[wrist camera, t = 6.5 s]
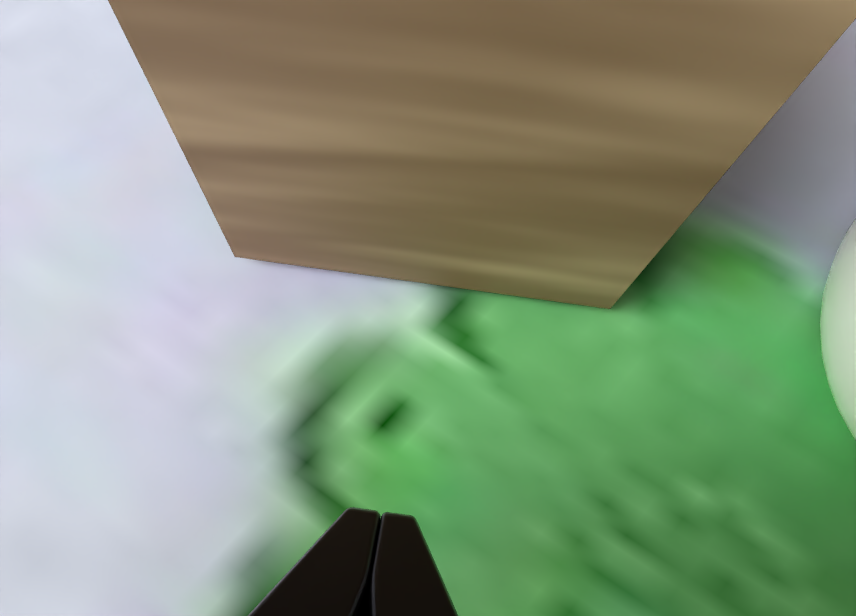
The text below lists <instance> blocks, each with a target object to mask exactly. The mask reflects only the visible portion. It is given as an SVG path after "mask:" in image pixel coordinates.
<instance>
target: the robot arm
mask: <svg viewBox="0 0 856 616" xmlns="http://www.w3.org/2000/svg"><path fill="white" fill-rule="evenodd" d="M248 616H458V614H457V612H456V609H455V607H454V605H453V602H452V600H451V598H450V596H449V593H448V591H447V589H446V586H445V584H444V582H443V580H442V577H441V575H440V573H439V570H438V568H437V566H436V564H435V561H434V559H433V557H432V554H431V552H430V550H429V548H428V545H427V543H426V541H425V538H424V536H423V534H422V531H421V529H420V527H419V525H418V522H417V520H416V519H415V518H414V517H413V516H411V515H405V514H398V513H390V512H385V513H383V514H382V516H381V519H380V513H379V512H378V511H375V510H369V509H361V508H354V507H351V508H348V509H346V510H345V511H344V512H343V513H342V514H341V515H340V517H339V518H338V519H337V520H336V521H335V522H334V523H333V524H332V525H331V526H330V527H329V528H328V530H327V531H326V532H325V533H324V534H323V535H322V536H321V537H320V538H319V539H318V540H317V541H316V543H315V544H314V545H313V546H312V547H311V548H310V549H309V550H308V551H307V552H306V553H305V554H304V556H303V557H302V558H301V559H300V560H299V561H298V562H297V563H296V564H295V565H294V566H293V567H292V568H291V570H290V571H289V572H288V573H287V574H286V575H285V576H284V577H283V578H282V579H281V580H280V581H279V583H278V584H277V585H276V586H275V587H274V588H273V589H272V590H271V591H270V592H269V593H268V594H267V596H266V597H265V598H264V599H263V600H262V601H261V602H260V603H259V604H258V605H257V606H256V607H255V609H254V610H253V611H252V612H251V613H250V614H249V615H248Z"/></svg>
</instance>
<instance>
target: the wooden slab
mask: <svg viewBox="0 0 856 616" xmlns="http://www.w3.org/2000/svg"><path fill="white" fill-rule="evenodd" d="M108 1H109V3H110V5H111V7H112V9H113V11H114V13H115V15H116V17H117V19H118V21H119V23H120V25H121V27H122V30H123V32H124V34H125V36H126V38H127V40H128V42H129V44H130V46H131V48H132V50H133V52H134V54H135V56H136V58H137V60H138V62H139V64H140V66H141V68H142V70H143V72H144V74H145V76H146V78H147V80H148V82H149V84H150V86H151V88H152V90H153V92H154V94H155V96H156V98H157V100H158V102H159V104H160V106H161V108H162V110H163V112H164V114H165V116H166V118H167V121H168V123H169V125H170V127H171V129H172V131H173V133H174V135H175V137H176V139H177V141H178V143H179V145H180V147H181V149H182V151H183V153H184V155H185V157H186V159H187V161H188V163H189V165H190V167H191V169H192V171H193V173H194V175H195V177H196V179H197V181H198V183H199V185H200V187H201V189H202V191H203V193H204V195H205V197H206V199H207V201H208V203H209V205H210V207H211V209H212V212H213V214H214V216H215V218H216V220H217V222H218V224H219V226H220V228H221V230H222V232H223V234H224V236H225V238H226V240H227V242H228V244H229V246H230V248H231V250H232V252H233V254H234V256H235V257H240V258H247V259H255V260H262V261H269V262H276V263H283V264H291V265H298V266H305V267H312V268H319V269H326V270H334V271H341V272H348V273H355V274H362V275H370V276H377V277H384V278H391V279H398V280H405V281H413V282H420V283H427V284H434V285H441V286H449V287H456V288H463V289H470V290H477V291H484V292H492V293H499V294H506V295H513V296H520V297H528V298H535V299H542V300H549V301H556V302H563V303H571V304H578V305H585V306H592V307H599V308H607V309H611V307H612V306H613V305H614V304H615V303H616V301H617V300H618V299H619V298H620V297H621V296H622V294H623V293H624V292H625V291H626V290H627V288H628V287H629V286H630V285H631V284H632V283H633V281H634V280H635V279H636V278H637V277H638V275H639V274H640V273H641V272H642V271H643V270H644V268H645V267H646V266H647V265H648V264H649V262H650V261H651V260H652V259H653V258H654V256H655V255H656V254H657V253H658V252H659V251H660V249H661V248H662V247H663V246H664V245H665V243H666V242H667V241H668V240H669V239H670V238H671V236H672V235H673V234H674V233H675V232H676V230H677V229H678V228H679V227H680V226H681V225H682V223H683V222H684V221H685V220H686V219H687V217H688V216H689V215H690V214H691V213H692V212H693V210H694V209H695V208H696V207H697V206H698V204H699V203H700V202H701V201H702V200H703V199H704V197H705V196H706V195H707V194H708V193H709V191H710V190H711V189H712V188H713V187H714V186H715V184H716V183H717V182H718V181H719V180H720V178H721V177H722V176H723V175H724V174H725V173H726V171H727V170H728V169H729V168H730V167H731V165H732V164H733V163H734V162H735V161H736V160H737V158H738V157H739V156H740V155H741V154H742V152H743V151H744V150H745V149H746V148H747V146H748V145H749V144H750V143H751V142H752V141H753V139H754V138H755V137H756V136H757V135H758V133H759V132H760V131H761V130H762V129H763V128H764V126H765V125H766V124H767V123H768V122H769V120H770V119H771V118H772V117H773V116H774V115H775V113H776V112H777V111H778V110H779V109H780V107H781V106H782V105H783V104H784V103H785V102H786V100H787V99H788V98H789V97H790V96H791V94H792V93H793V92H794V91H795V90H796V89H797V87H798V86H799V85H800V84H801V83H802V81H803V80H804V79H805V78H806V77H807V76H808V74H809V73H810V72H811V71H812V70H813V68H814V67H815V66H816V65H817V64H818V63H819V61H820V60H821V59H822V58H823V57H824V55H825V54H826V53H827V52H828V51H829V50H830V48H831V47H832V46H833V45H834V44H835V42H836V41H837V40H838V39H839V38H840V36H841V35H842V34H843V33H844V32H845V31H846V29H847V28H848V27H849V26H850V25H851V23H852V22H853V21H854V20H855V19H856V0H108Z"/></svg>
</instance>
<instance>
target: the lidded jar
mask: <svg viewBox="0 0 856 616" xmlns="http://www.w3.org/2000/svg"><path fill="white" fill-rule="evenodd" d="M820 334H821V349H822V359H823V363H824V368H825V372H826V376H827V381H828V384H829V387H830V390H831V392H832V395H833V397H834V400H835V403H836V405H837V408H838V410H839V412H840V414H841V416H842V418H843V419H844V421H845V423H846V425H847V427H848V428H849V430H850V432H851V434H852V436H853V437H854V439H855V440H856V219H855V220H854V222H853V223H852V225H851V226H850V228H849V229H848V231H847V233H846V235H845V237H844V239H843V241H842V243H841V245H840V247H839V248H838V250H837V252H836V255H835V258H834V260H833V263H832V266H831V269H830V272H829V275H828V278H827V282H826V285H825V289H824V292H823V298H822V308H821V318H820Z"/></svg>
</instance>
